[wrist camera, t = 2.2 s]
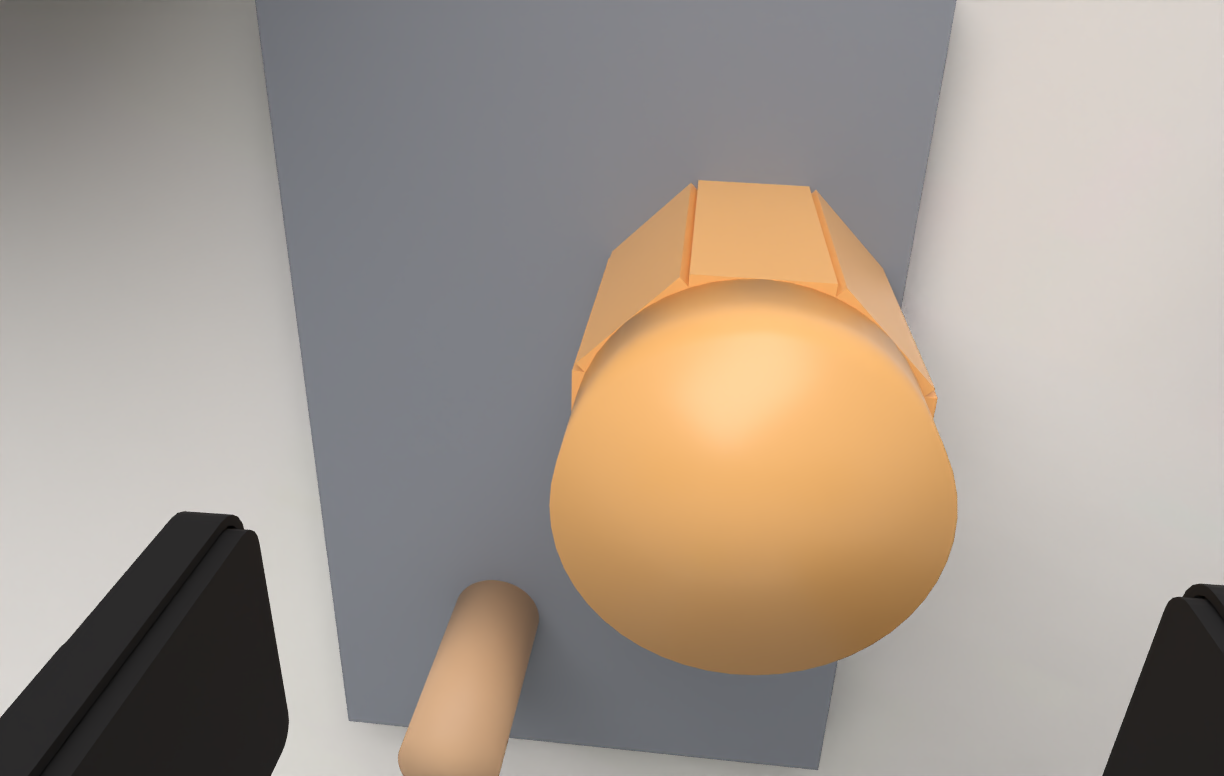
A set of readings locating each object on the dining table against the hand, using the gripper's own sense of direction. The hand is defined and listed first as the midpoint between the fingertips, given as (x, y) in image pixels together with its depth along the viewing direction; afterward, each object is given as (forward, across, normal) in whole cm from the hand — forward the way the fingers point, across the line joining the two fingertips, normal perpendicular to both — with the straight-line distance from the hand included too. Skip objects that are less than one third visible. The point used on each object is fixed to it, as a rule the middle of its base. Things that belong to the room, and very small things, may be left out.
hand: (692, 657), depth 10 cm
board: (+11, +2, +3) cm, 12 cm away
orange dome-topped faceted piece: (+10, -1, 0) cm, 10 cm away
